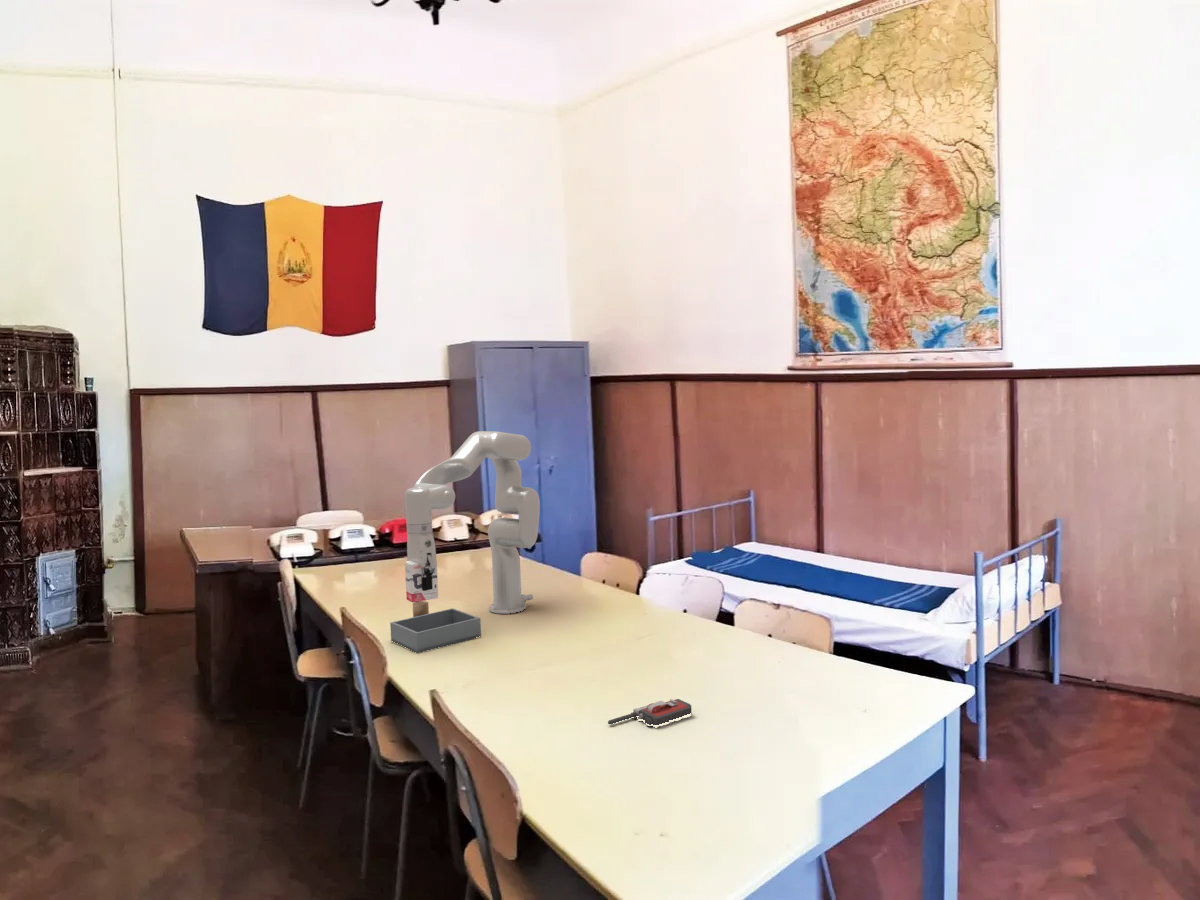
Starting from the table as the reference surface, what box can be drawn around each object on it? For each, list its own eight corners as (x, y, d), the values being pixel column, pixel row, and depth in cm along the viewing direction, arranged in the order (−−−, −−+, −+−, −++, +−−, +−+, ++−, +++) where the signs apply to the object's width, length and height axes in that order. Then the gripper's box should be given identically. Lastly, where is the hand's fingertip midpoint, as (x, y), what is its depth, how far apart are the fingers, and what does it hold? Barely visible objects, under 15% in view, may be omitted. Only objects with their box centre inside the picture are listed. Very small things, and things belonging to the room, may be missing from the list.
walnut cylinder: (424, 621, 287) (423, 600, 287) (432, 624, 284) (431, 603, 283) (410, 624, 284) (409, 603, 283) (418, 627, 280) (417, 606, 280)
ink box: (412, 603, 259) (410, 563, 258) (406, 599, 263) (404, 561, 262) (439, 598, 263) (437, 559, 262) (432, 595, 268) (430, 557, 266)
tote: (453, 626, 280) (452, 608, 280) (481, 637, 268) (480, 617, 268) (391, 641, 266) (390, 622, 265) (417, 653, 254) (416, 633, 253)
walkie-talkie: (673, 706, 210) (605, 727, 199) (673, 688, 210) (605, 708, 198) (697, 717, 203) (628, 739, 192) (697, 699, 202) (628, 720, 191)
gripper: (445, 530, 257) (447, 590, 259) (416, 523, 270) (419, 581, 272) (422, 534, 252) (425, 595, 254) (394, 527, 265) (397, 585, 267)
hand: (422, 587), depth 263 cm, fingers closed on ink box, 5 cm apart
